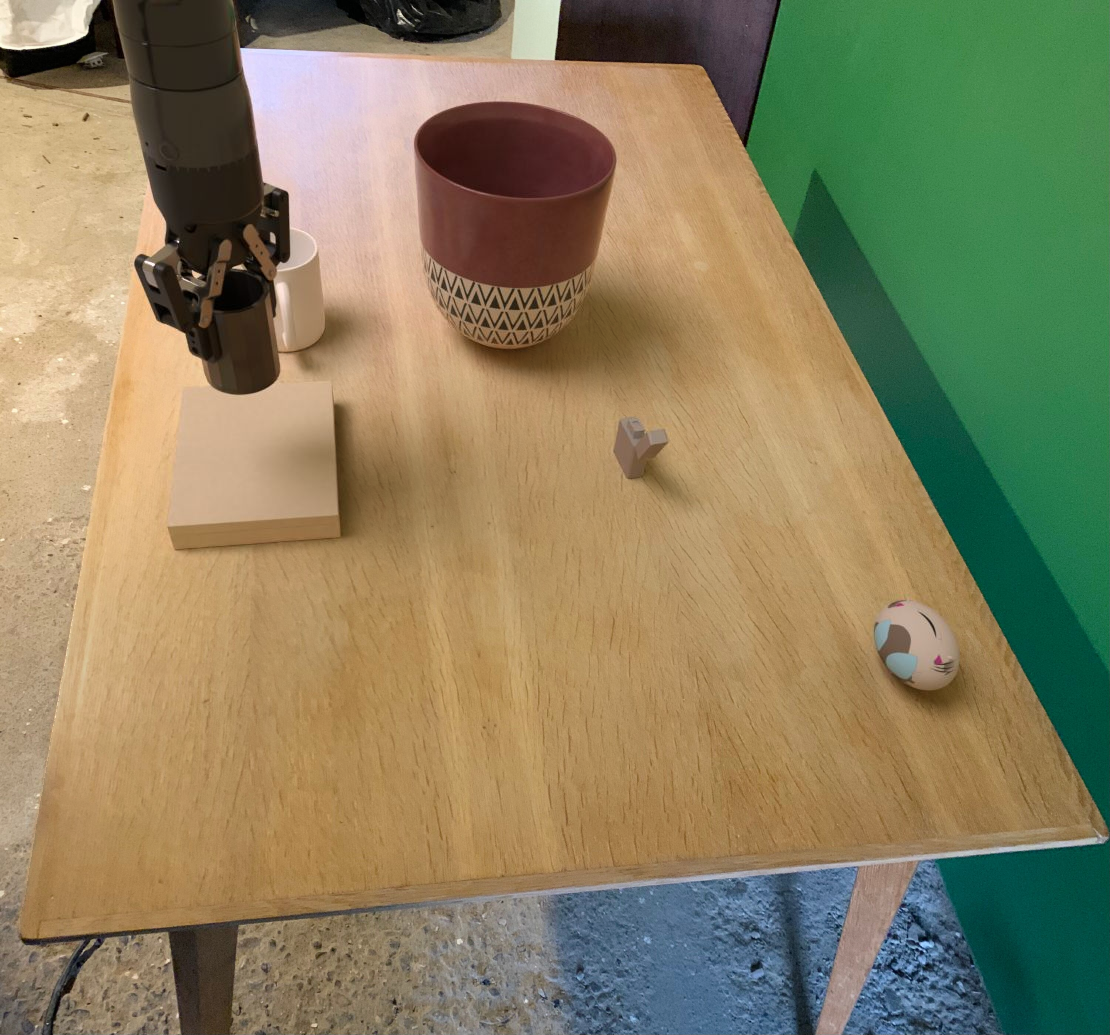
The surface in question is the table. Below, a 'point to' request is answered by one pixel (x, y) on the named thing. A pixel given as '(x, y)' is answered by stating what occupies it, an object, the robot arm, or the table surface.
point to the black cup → (243, 335)
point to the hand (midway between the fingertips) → (236, 336)
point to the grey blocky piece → (636, 446)
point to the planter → (510, 217)
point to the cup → (298, 294)
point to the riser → (255, 466)
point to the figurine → (916, 645)
